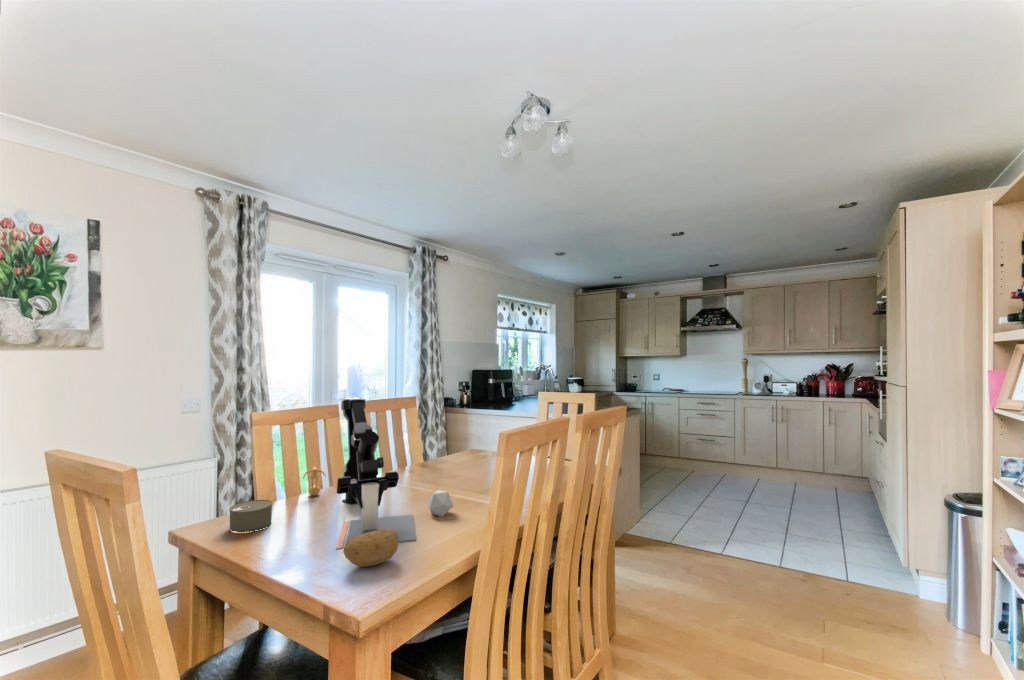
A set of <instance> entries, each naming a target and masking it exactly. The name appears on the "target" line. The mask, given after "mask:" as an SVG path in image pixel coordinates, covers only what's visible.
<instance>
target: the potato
mask: <svg viewBox="0 0 1024 680" xmlns="http://www.w3.org/2000/svg"><path fill="white" fill-rule="evenodd" d="M345 544H346V543H345ZM343 547H344V548H343V552H342V553H343V555H344V556H345V559H347V560H348V561H349V563H351V564H353V565H355V566H356V567H357V566H358V567H360V568H362V567H363V568H366V567H373V566H377V565H379V564H381V563H384V562H387V561H388V560H390V559H392V558H393V557H394V556H395V553H396V552H397V549H398V547H399V543H398V536H397V533H396V532H395V531H393V530H391V529H385V530H379V531H371V532H368V533H365V534H363V535H360V536H357V537H354V538H352V539H351V540H350V541H349V542H348V543H347V544H346V545H344V546H343Z"/></svg>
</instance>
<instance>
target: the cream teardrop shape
mask: <svg viewBox="0 0 1024 680" xmlns="http://www.w3.org/2000/svg"><path fill="white" fill-rule="evenodd" d="M378 487H379V484H378V483H373V482H372V483H365V484H362V509H361V508H360V509H361V513H360V514H361V517H360V519H361V529H363V530H371V529H375V528H377V527H378V518H379V506H378Z"/></svg>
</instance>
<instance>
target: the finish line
mask: <svg viewBox="0 0 1024 680" xmlns="http://www.w3.org/2000/svg"><path fill="white" fill-rule="evenodd" d="M349 524H350V523H349V520H346V521H345V520H344V521H343V523H342V526H341V529H340V533H339V537H338V539H337V540H338V541H337V544H336V548H335V550H342V549H343V547H344V543H345V539H346V534H347V531H348V526H349Z"/></svg>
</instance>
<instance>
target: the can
mask: <svg viewBox="0 0 1024 680" xmlns="http://www.w3.org/2000/svg"><path fill="white" fill-rule="evenodd" d="M272 510H273V501H271V500H269V499H253V500H247V501H243V502H242V501H241V502H239V503H237V504H236V503H235V504H234V505H231V506H230V507H229V530H230V529H231V530H232V531H237V532H245V531H246V532H247V531H249V532H250V531H255V530H260V529H263V528H266V527H268V526H269V527H270V526H271V525H272V518H273V517H272V515H273V514H272ZM269 527H268V528H269ZM266 529H267V528H266Z"/></svg>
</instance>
